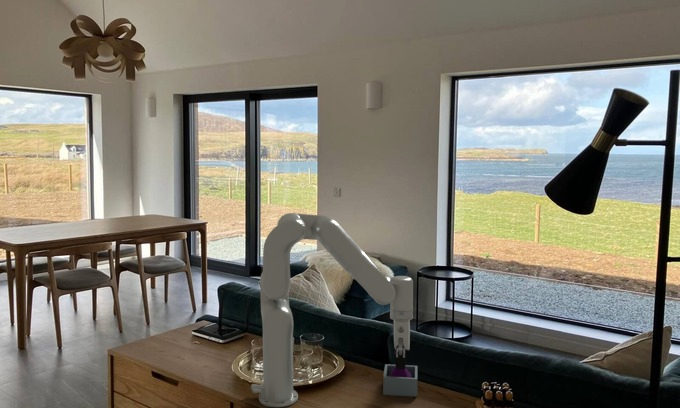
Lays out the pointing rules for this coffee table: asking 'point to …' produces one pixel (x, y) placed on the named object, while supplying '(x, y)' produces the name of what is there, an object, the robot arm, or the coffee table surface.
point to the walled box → (400, 382)
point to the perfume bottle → (400, 371)
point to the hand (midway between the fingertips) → (400, 363)
